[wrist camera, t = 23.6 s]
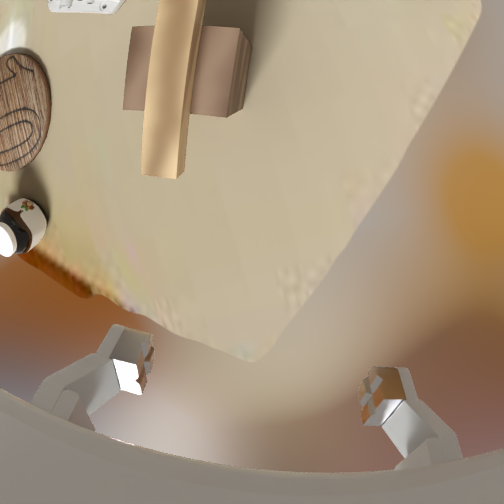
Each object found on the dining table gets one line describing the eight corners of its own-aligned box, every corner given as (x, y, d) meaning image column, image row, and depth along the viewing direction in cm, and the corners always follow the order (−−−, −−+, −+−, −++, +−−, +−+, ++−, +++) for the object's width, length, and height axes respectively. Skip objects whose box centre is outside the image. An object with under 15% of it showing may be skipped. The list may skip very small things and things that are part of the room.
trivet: (-28, 85, 41) (-34, 87, 39) (41, 31, 37) (35, 31, 35) (-6, 181, 53) (-11, 184, 51) (65, 148, 49) (59, 150, 47)
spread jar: (55, 218, 56) (22, 245, 46) (41, 251, 60) (11, 280, 50) (20, 183, 52) (-16, 205, 42) (8, 219, 57) (-24, 243, 47)
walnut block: (166, 101, 44) (123, 109, 31) (173, 41, 39) (132, 26, 26) (242, 108, 44) (226, 117, 31) (252, 46, 39) (240, 28, 26)
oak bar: (151, 167, 34) (141, 174, 32) (173, -18, 23) (164, -25, 21) (184, 171, 34) (176, 179, 32) (209, -18, 23) (203, -26, 21)
